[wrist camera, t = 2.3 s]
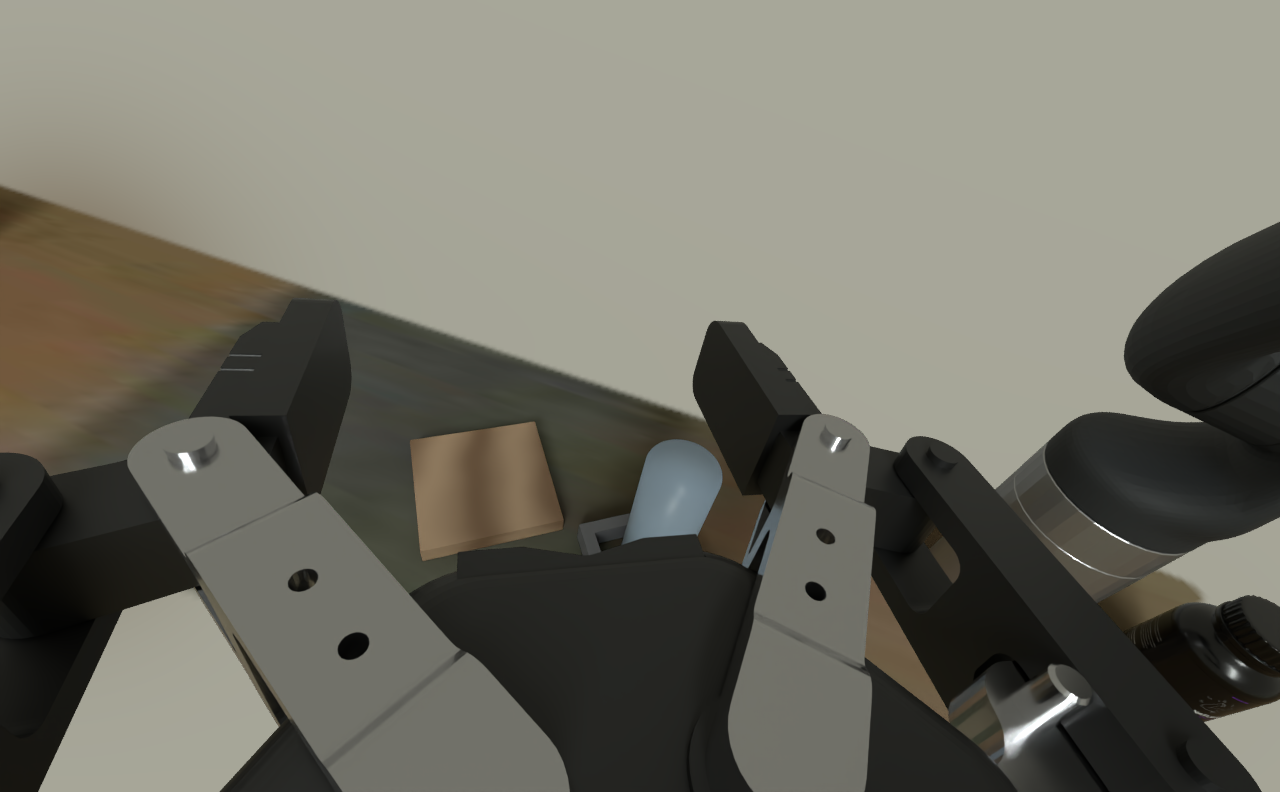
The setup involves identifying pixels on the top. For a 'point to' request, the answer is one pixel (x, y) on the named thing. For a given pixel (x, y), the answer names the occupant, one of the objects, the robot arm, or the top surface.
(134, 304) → the top surface
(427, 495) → the walnut board
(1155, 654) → the supplement bottle
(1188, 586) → the top surface
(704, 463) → the canister
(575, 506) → the top surface
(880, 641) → the top surface
